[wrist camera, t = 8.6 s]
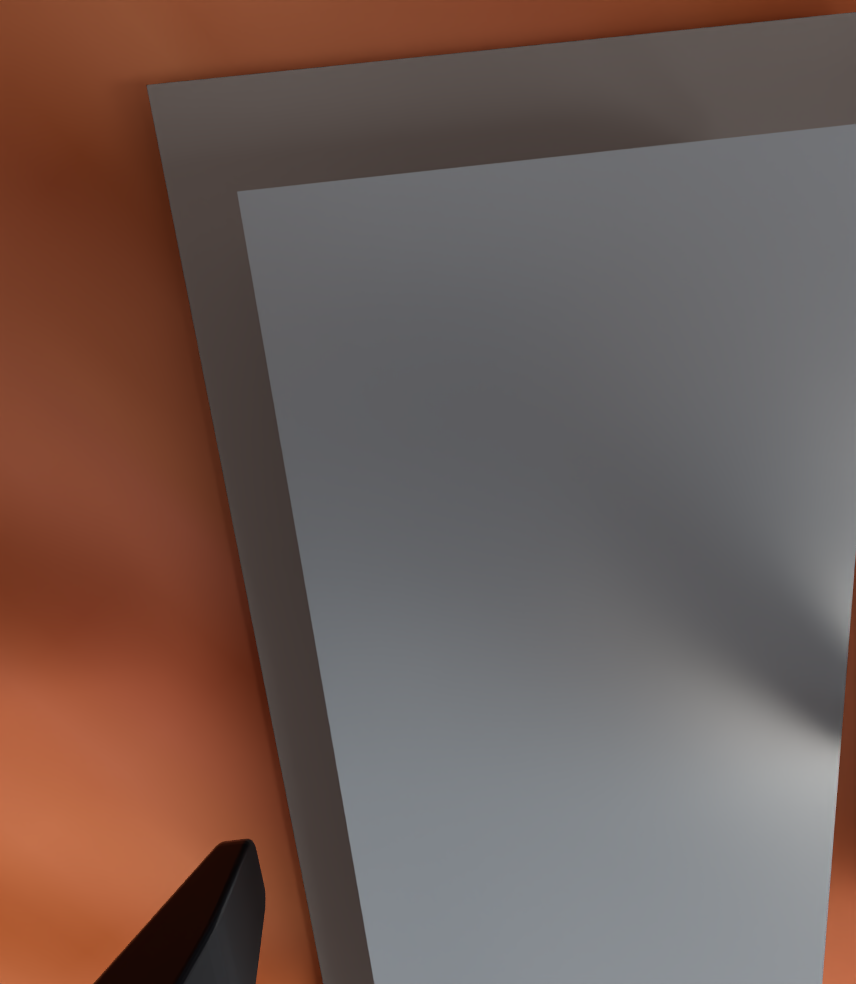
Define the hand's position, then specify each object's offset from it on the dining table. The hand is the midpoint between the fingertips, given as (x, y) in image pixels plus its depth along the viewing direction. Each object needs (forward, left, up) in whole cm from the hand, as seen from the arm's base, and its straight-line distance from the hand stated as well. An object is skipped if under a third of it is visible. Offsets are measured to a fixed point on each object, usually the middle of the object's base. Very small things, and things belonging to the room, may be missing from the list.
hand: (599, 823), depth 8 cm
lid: (0, 0, -2) cm, 2 cm away
